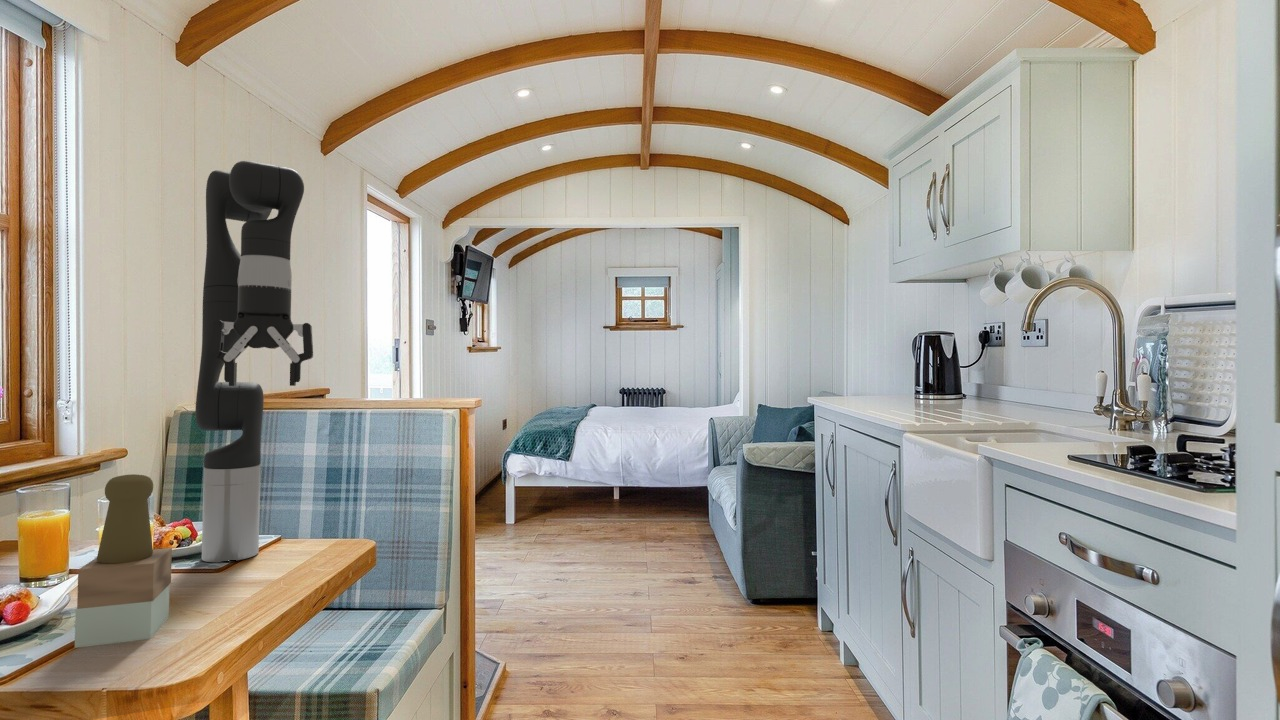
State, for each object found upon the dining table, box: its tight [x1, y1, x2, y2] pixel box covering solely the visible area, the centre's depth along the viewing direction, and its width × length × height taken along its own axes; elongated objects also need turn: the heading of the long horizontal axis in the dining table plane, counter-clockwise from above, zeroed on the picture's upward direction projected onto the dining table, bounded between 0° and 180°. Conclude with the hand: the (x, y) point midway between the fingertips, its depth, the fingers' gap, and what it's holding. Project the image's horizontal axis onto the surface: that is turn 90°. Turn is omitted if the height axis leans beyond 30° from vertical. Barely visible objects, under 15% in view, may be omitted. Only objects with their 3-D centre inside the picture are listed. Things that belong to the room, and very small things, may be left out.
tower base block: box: [74, 583, 171, 649], centre depth 87 cm, size 8×8×5 cm
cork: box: [96, 474, 154, 564], centre depth 88 cm, size 6×6×11 cm
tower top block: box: [76, 547, 173, 609], centre depth 88 cm, size 8×8×5 cm
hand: (262, 385), depth 105 cm, fingers open, 8 cm apart
